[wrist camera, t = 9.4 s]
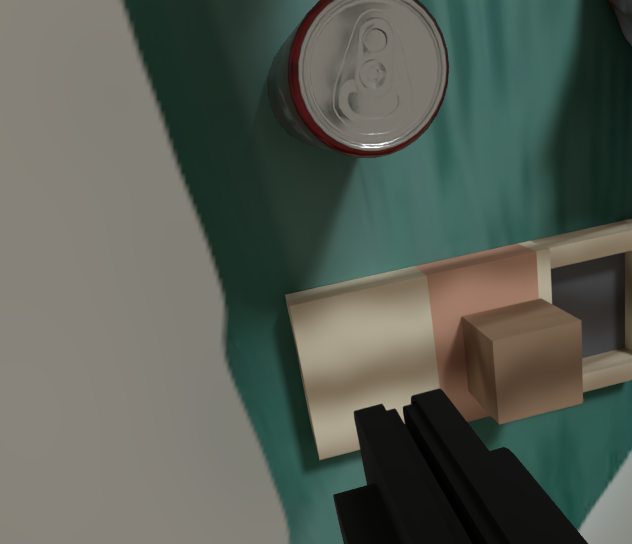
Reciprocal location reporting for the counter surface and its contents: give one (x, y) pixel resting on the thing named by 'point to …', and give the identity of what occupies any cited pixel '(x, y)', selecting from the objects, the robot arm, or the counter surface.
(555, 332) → the walnut block
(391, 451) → the robot arm
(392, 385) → the trap deck
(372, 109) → the soda can
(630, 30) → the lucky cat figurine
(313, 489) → the counter surface
